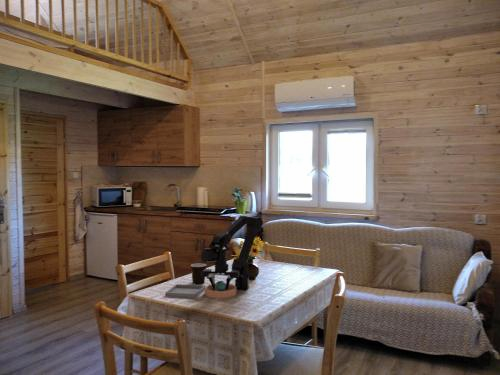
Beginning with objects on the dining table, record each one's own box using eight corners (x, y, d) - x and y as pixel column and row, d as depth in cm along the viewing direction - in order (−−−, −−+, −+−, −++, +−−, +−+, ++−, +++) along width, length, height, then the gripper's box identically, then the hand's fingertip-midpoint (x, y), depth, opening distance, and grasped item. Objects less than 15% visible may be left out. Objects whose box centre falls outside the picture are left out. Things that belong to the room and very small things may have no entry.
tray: (205, 289, 226) (205, 285, 226) (196, 298, 210) (196, 294, 210) (176, 287, 229) (176, 284, 229) (165, 296, 213) (165, 292, 213)
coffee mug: (203, 285, 233) (203, 267, 233) (188, 284, 235) (188, 266, 235) (209, 280, 245) (209, 262, 244) (195, 279, 247) (195, 262, 246)
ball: (227, 291, 220) (227, 279, 220) (225, 294, 214) (225, 282, 214) (216, 290, 221) (216, 279, 221) (213, 294, 215) (213, 282, 215)
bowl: (238, 290, 224) (238, 283, 224) (232, 299, 208) (232, 292, 208) (209, 289, 226) (209, 282, 226) (201, 297, 211) (201, 290, 211)
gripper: (241, 257, 223) (241, 287, 224) (206, 256, 226) (207, 285, 227) (237, 261, 212) (237, 293, 213) (201, 260, 215) (201, 291, 216)
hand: (220, 290), depth 217 cm, fingers closed on ball, 6 cm apart
